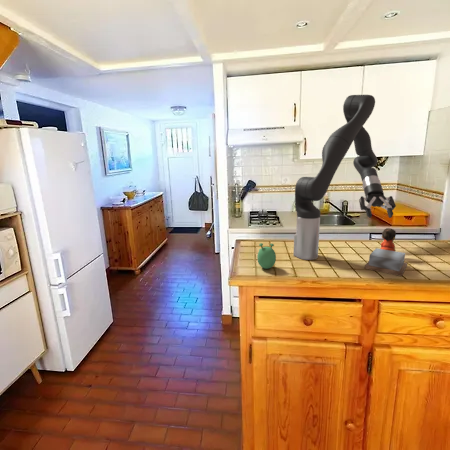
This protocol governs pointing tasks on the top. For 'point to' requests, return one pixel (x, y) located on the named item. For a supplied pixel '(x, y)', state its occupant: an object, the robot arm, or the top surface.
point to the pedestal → (387, 262)
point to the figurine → (388, 239)
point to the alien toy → (266, 256)
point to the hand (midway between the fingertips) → (380, 216)
